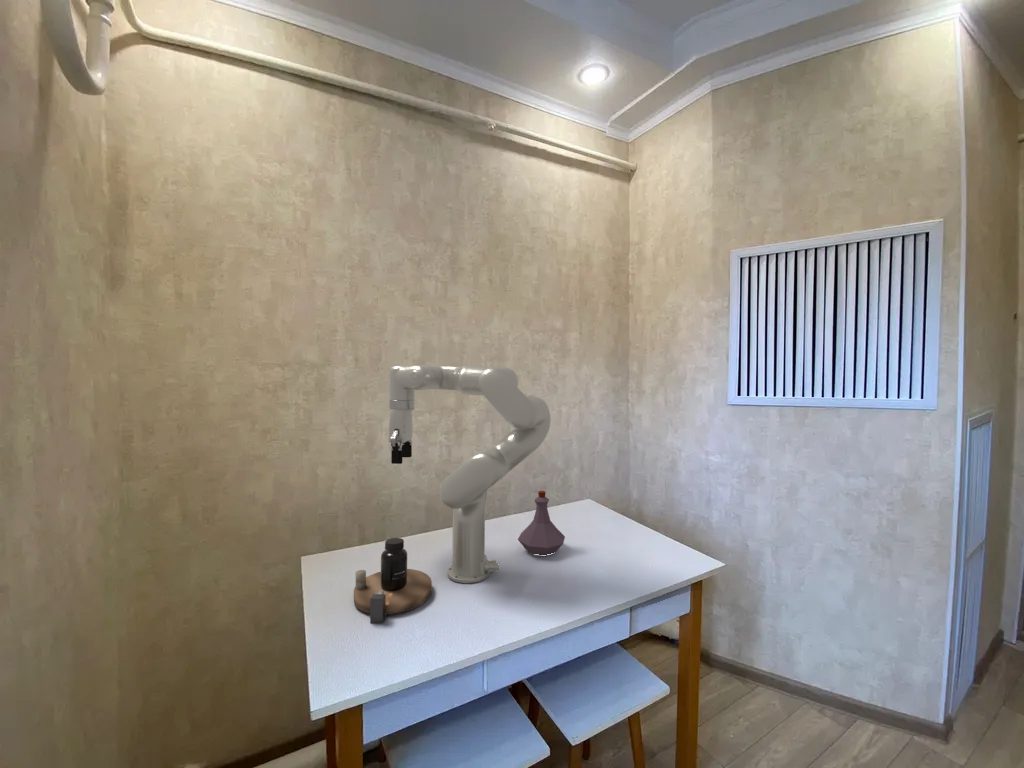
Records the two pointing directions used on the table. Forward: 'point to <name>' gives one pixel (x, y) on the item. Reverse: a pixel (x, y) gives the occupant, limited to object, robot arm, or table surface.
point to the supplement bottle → (394, 565)
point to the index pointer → (378, 608)
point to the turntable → (395, 600)
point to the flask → (541, 531)
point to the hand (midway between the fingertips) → (401, 460)
